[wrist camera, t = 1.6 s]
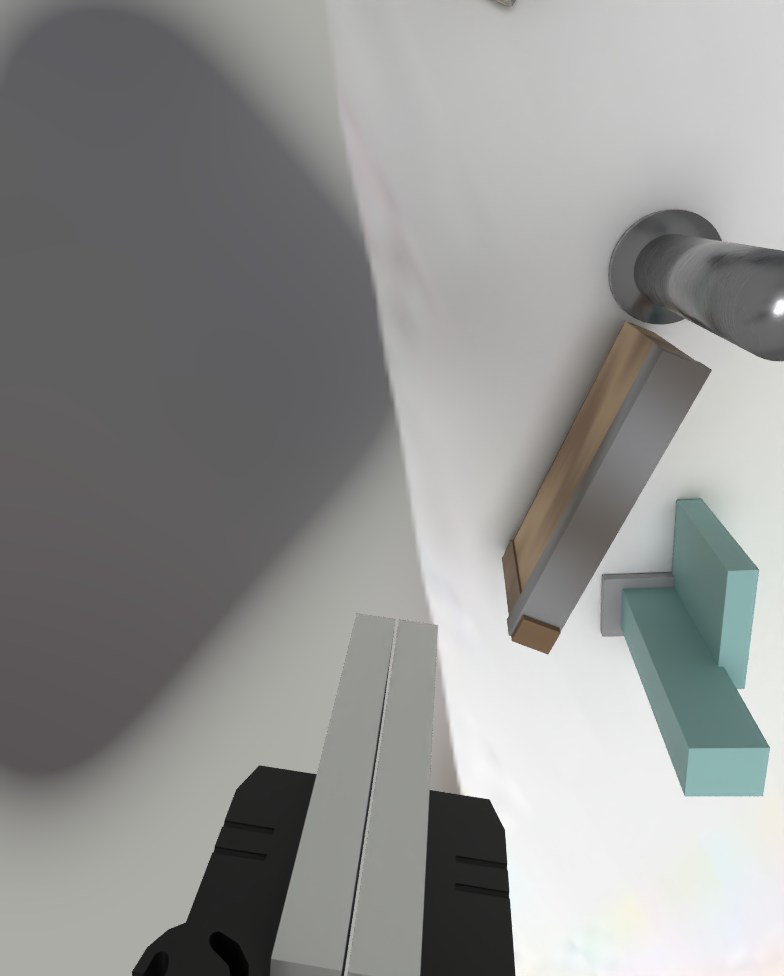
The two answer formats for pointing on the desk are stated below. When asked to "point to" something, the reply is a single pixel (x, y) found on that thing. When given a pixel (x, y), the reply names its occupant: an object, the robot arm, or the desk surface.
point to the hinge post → (701, 281)
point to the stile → (695, 653)
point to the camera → (506, 2)
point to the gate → (596, 480)
